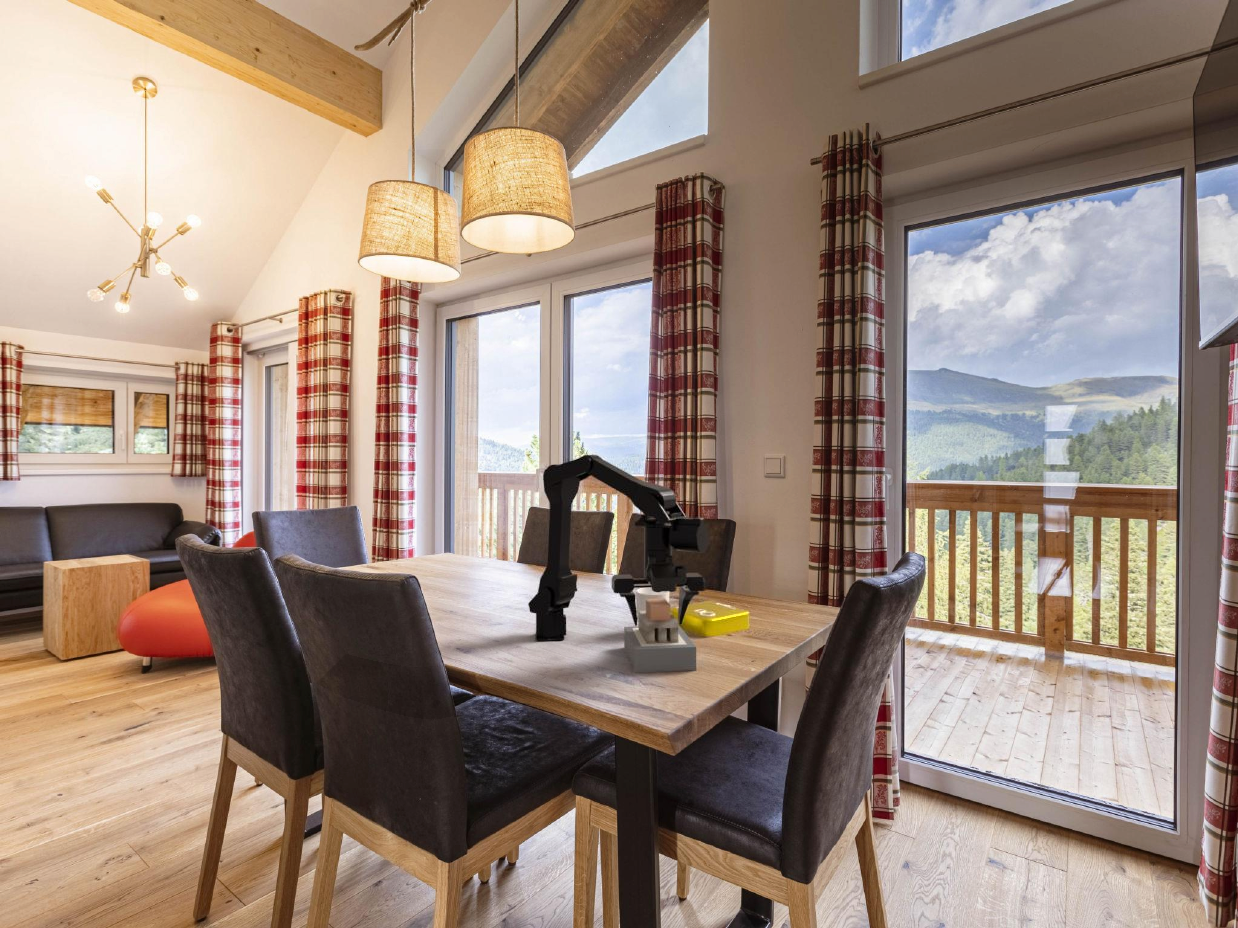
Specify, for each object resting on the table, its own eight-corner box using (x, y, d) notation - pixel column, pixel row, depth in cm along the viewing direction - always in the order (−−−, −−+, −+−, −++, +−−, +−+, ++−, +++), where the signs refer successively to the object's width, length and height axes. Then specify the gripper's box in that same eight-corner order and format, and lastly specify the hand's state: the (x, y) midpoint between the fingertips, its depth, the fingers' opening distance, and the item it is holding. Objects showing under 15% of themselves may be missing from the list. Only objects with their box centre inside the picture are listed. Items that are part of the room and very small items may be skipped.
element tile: (753, 629, 150) (753, 609, 150) (707, 639, 142) (707, 618, 142) (710, 616, 163) (710, 598, 163) (665, 625, 154) (665, 605, 154)
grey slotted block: (646, 643, 122) (646, 623, 122) (638, 629, 132) (638, 610, 132) (678, 642, 123) (678, 622, 123) (668, 628, 133) (668, 609, 133)
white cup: (657, 640, 140) (657, 596, 140) (629, 634, 145) (629, 591, 145) (675, 632, 146) (675, 590, 146) (648, 626, 151) (648, 586, 151)
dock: (635, 672, 119) (634, 648, 119) (624, 647, 135) (624, 626, 135) (696, 669, 120) (696, 646, 120) (678, 645, 136) (678, 624, 136)
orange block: (650, 620, 124) (650, 605, 124) (645, 613, 130) (645, 598, 130) (670, 619, 125) (670, 604, 125) (664, 612, 131) (664, 598, 131)
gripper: (617, 555, 118) (617, 637, 118) (712, 553, 120) (712, 634, 121) (611, 547, 129) (611, 622, 129) (698, 545, 132) (698, 619, 132)
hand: (658, 624), depth 128 cm, fingers open, 9 cm apart
